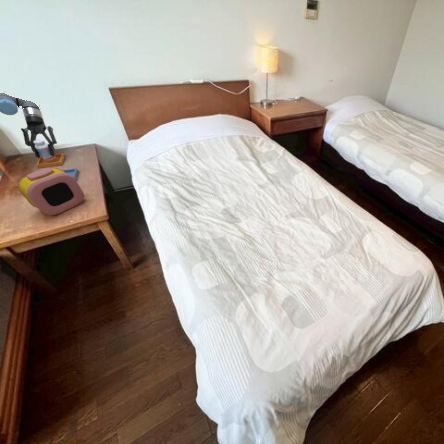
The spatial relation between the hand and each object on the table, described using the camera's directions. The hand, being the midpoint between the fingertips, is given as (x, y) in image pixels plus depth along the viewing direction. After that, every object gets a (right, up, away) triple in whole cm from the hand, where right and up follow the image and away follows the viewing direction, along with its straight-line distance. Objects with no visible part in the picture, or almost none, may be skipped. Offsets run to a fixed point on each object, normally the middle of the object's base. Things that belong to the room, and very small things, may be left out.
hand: (45, 156), depth 144 cm
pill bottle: (-2, 0, +5) cm, 5 cm away
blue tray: (+16, -14, -4) cm, 21 cm away
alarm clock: (+31, -31, -21) cm, 48 cm away
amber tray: (-2, -2, +6) cm, 7 cm away
